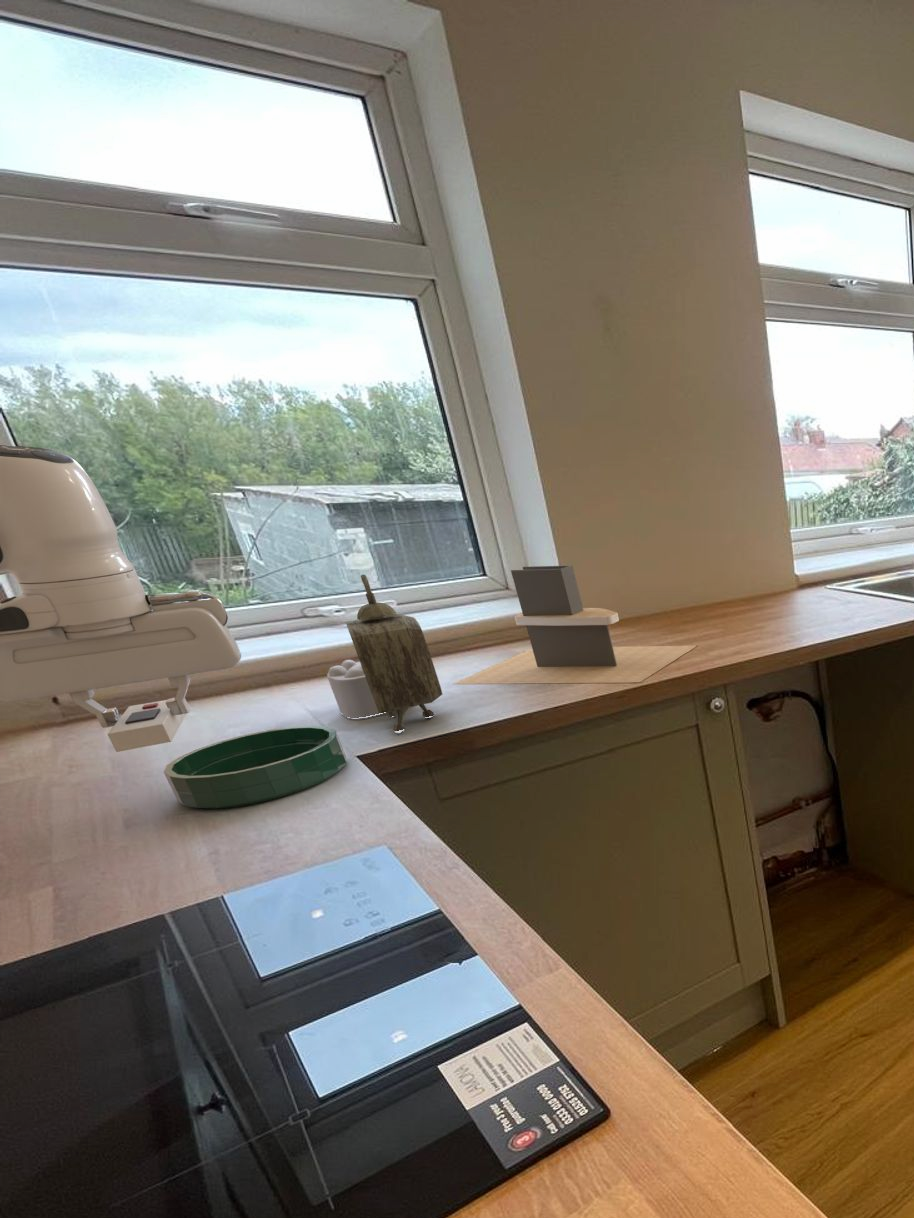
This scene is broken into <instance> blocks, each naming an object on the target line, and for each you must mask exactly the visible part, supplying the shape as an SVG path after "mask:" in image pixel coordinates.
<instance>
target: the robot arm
mask: <svg viewBox="0 0 914 1218" xmlns="http://www.w3.org/2000/svg"><path fill="white" fill-rule="evenodd" d="M118 539H119V538H118V530H117V526H116V524H115V522H114V520H113V518H112V516H111V514H110V511H109V509H108V507H107V504H106V503H105V501H104V499H103V497H102V496H101V494H100V492H99V490H98V488H97V487H96V484H95V483H94V481H93V480H92V479H91V477H90V476H89V475H88V473H87V472H86V470H85V469H84V468H83V467H82V466H81V465H80V464H79V463H78V462H77V460H75V459H74V458H72V457H71V456H69V455H67V454H64V453H62V452H59V451H58V450H55V449H54V450H53V449H49V448H43V447H36V446H34V447H33V446H25V445H17V446H14V445H6V444H5V445H4V444H0V576H3V575H7V574H11V575H13V576H14V577H15V579H16V581H17V583H18V586H19V587H20V589H21V591H22V593H21V594H22V595H19V596H16V595H14V596H11V597H8V598H6V599H3V600H1V601H0V701H1V702H4V703H7V704H8V703H17V702H22V701H29V700H35V699H41V698H48V697H53V696H60V695H66V694H69V696H70V698H71V700H72V702H73V703H74V704H76V705H77V706H78V707H80V708H81V709H83V710H85V711H87V712H89V713H90V714H92V715H95V717H96V719H97V721H98V723H99V725H100V727H101V728H103V729H105V728H111V727H113V726H114V725H115V724H116V722H117V721H118V720H119V719H120V718H121V716H122V715H119V713H120V712H119V710H118V708H117V707H111V708H107V707H105V706H104V705H102V704H100V703H99V702H97V701H96V700H94V699H93V697H94V696H95V695H96V693H95V692H94V690H99V689H105V688H111V687H117V686H124V685H130V684H138V683H143V682H150V681H156V680H162V679H168V681H169V683H170V685H171V686H172V687H177V686H178V688H177V691H176V694H175V697H171V698H167V699H166V700H167V701H166V702H165V703H166V705H167V707H168V708H169V709H170V712H171V714H172V715H173V716H174V715H180V714H186V715H187V714H189V713H190V711H191V709H190V706H189V703H188V701H187V699H186V695H187V692H188V690H189V686H190V683H191V677H190V676H189V675H194V674H201V673H208V672H214V671H219V670H227V669H232V668H235V667H236V666H237V665H238V664H239V663H240V661H241V659H242V652H241V650H240V646H238V643H237V641H236V639H235V638H234V636H233V634H232V633H231V631H230V629H229V628H228V626H227V623H228V620H229V617H228V613H227V610H226V608H225V606H224V603H223V602H222V601H221V600H220V599H219V598H218V597H217V596H215V595H213V594H211V593H204V592H201V591H200V590H186V591H183V592H176V593H175V592H174V593H173V592H172V593H171V592H170V593H159V594H158V593H157V594H150V595H148V594H146V591H145V588H144V587H143V584H142V582H141V579H140V577H139V575H138V573H137V571H136V568H135V566H134V565H133V564H132V562H131V561H130V560H129V559H128V558H127V557H126V555H125V554H124V552H123V550H122V549H121V546H120V544H119V540H118Z"/></svg>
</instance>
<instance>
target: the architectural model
mask: <svg viewBox="0 0 914 1218" xmlns="http://www.w3.org/2000/svg"><path fill="white" fill-rule="evenodd" d="M510 572H511V576H512V580H513V583H514V586H515V591H516V595H517V598H518V601H519V605H520V609H521V613H518V614H517V615H515V616H514V621H515V623H516V626H525V628H526V631H527V635H528V638H529V641H530V646H531V648H530V649H527V650H525V651H523V652H521V653H518V654H516V655H514V656H511V657H509V658H507V659H505V660H503V661H501V662H498V663H496V664H493V665H492V666H490V667H488V668H485V669H483V670H481V671H479V672H476V673H473V674H472V675H470V676H469V675H468V676H467V677H465V678H463V679H460V680H459V681H456V682H454V683H453V685H489V684H490V685H492V684H493V685H494V684H495V685H497V684H499V685H500V684H502V685H505V684H508V685H509V684H510V685H511V684H605V683H606V684H607V683H608V684H609V683H613V684H614V683H615V684H616V683H620V684H622V683H623V684H624V683H641V682H643V681H644V680H646V679H647V678H649V677H651V676H652V675H654V674H655V673H657V672H658V671H660V670H661V669H663V668H665V667H667V666H668V665H669V664H671V663H672V662H674V661H676V660H677V659H679V658H681V657H682V656H684V655H686V654H687V653H688V652H690V651H691V650H693V649H695V648H696V647H697V645H650V646H649V645H647V646H645V645H644V646H643V645H642V646H641V645H640V646H638V645H637V646H633V645H632V646H613V641H612V638H611V633H610V629H609V625H613V624H615V623H617V622H619V621H620V619H619V614H618V612H617V611H613V610H610V609H606V608H603V607H583V603H582V599H581V594H580V589H579V586H578V582H577V579H576V574H575V570H574V566H573V565H572V564H571V565H539V566H538V565H535V566H522V569H511V570H510Z"/></svg>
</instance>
